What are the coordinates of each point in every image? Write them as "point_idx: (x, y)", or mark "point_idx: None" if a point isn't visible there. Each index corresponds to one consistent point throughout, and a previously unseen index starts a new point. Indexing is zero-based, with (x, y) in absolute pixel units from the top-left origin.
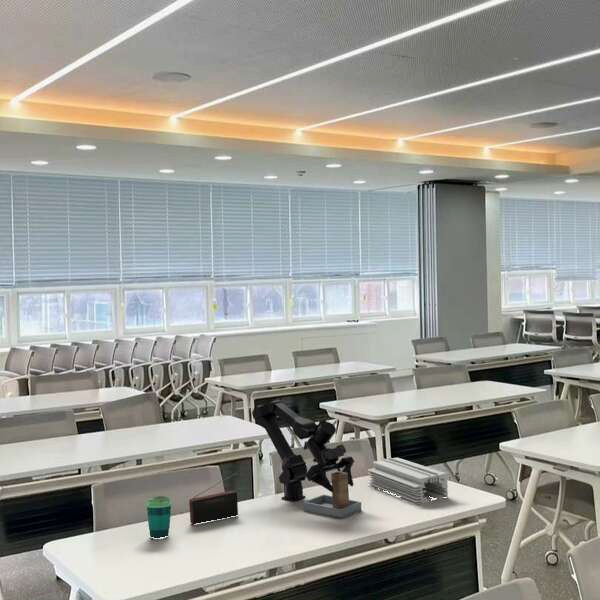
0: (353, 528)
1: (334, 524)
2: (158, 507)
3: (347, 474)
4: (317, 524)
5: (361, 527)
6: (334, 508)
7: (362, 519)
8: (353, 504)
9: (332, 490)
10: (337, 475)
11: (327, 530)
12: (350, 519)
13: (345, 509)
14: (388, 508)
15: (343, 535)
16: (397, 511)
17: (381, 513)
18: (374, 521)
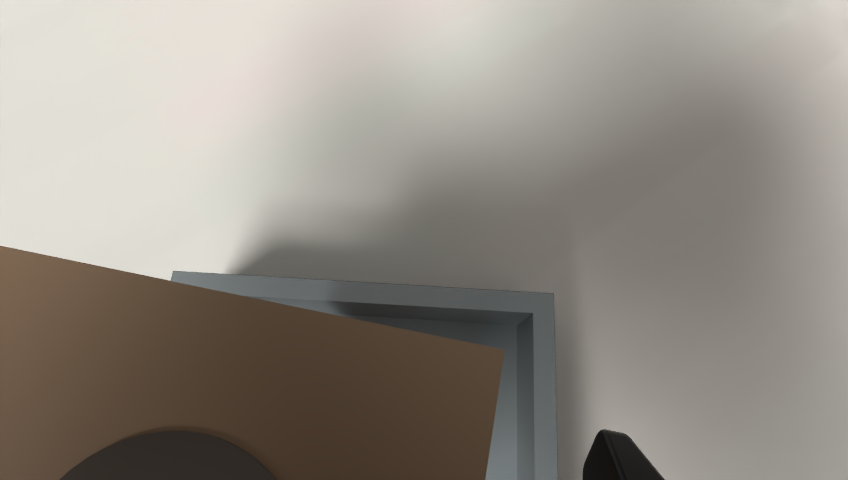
0: (659, 90)
1: (686, 276)
2: None
3: (55, 262)
4: (795, 420)
5: (602, 54)
6: (548, 401)
7: (434, 147)
8: (297, 293)
9: (628, 450)
10: (482, 467)
11: (840, 234)
12: (490, 233)
13: (471, 290)
14: (53, 120)
15: (827, 68)
16: (110, 24)
17: (213, 100)
18: (426, 46)
